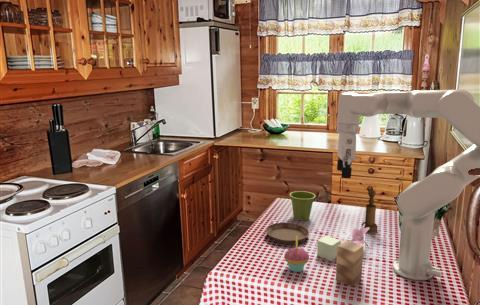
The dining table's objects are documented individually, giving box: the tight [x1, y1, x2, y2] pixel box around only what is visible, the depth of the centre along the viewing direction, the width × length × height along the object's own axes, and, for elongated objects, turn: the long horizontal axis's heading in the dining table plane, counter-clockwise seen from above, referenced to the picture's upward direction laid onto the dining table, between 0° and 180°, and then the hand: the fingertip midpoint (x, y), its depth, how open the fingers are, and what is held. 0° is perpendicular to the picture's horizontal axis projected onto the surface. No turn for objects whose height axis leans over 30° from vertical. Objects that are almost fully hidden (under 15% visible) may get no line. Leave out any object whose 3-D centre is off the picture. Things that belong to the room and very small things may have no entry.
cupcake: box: [283, 236, 310, 273], centre depth 134 cm, size 9×8×12 cm
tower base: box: [335, 262, 363, 287], centre depth 128 cm, size 6×6×6 cm
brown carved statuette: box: [361, 189, 379, 234], centre depth 165 cm, size 7×6×18 cm
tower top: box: [336, 239, 365, 269], centre depth 127 cm, size 6×6×6 cm
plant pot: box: [289, 190, 316, 221], centre depth 180 cm, size 12×12×11 cm
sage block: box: [316, 235, 342, 261], centre depth 144 cm, size 6×6×6 cm
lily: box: [350, 224, 370, 249], centre depth 150 cm, size 12×12×10 cm
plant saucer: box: [265, 222, 310, 245], centre depth 161 cm, size 18×18×3 cm
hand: (343, 174), depth 142 cm, fingers open, 9 cm apart
